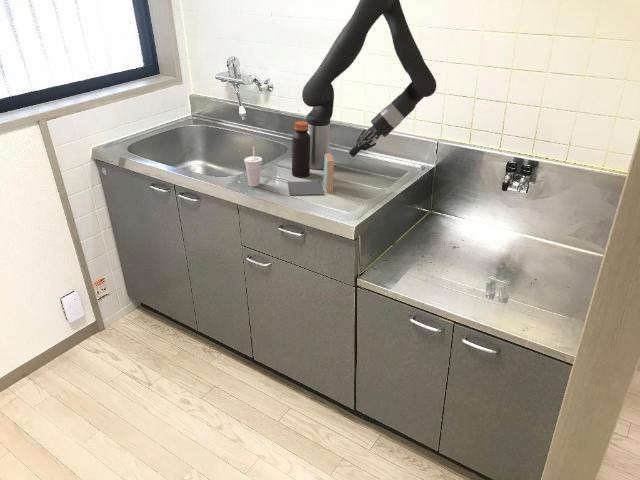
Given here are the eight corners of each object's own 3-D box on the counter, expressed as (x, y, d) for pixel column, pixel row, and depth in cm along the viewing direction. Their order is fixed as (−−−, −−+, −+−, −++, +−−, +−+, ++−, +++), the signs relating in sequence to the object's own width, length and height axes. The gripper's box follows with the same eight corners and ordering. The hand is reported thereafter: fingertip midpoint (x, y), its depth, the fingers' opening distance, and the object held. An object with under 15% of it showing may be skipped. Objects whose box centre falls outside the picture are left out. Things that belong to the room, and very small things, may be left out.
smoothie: (265, 182, 195) (265, 145, 189) (258, 189, 190) (257, 151, 183) (249, 180, 197) (248, 143, 191) (242, 186, 192) (240, 148, 185)
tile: (329, 184, 196) (330, 153, 191) (332, 193, 189) (333, 160, 184) (323, 184, 196) (324, 153, 190) (326, 193, 189) (327, 161, 183)
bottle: (302, 179, 200) (304, 126, 191) (288, 174, 203) (288, 123, 194) (312, 173, 205) (314, 122, 196) (298, 169, 208) (299, 119, 199)
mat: (319, 182, 198) (319, 181, 198) (324, 195, 187) (324, 194, 187) (287, 182, 196) (287, 181, 196) (290, 195, 186) (290, 194, 186)
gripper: (376, 107, 188) (340, 141, 192) (385, 117, 176) (346, 153, 180) (389, 122, 191) (354, 155, 195) (399, 132, 179) (361, 168, 183)
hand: (350, 154), depth 187 cm, fingers closed
